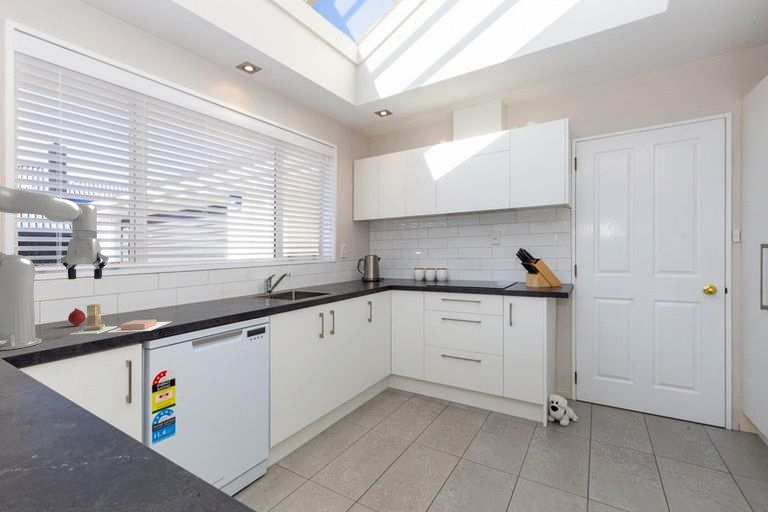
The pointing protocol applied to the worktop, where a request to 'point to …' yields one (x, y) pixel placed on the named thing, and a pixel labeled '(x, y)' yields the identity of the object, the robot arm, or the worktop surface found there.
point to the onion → (76, 317)
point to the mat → (142, 329)
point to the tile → (138, 324)
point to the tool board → (93, 331)
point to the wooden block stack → (94, 318)
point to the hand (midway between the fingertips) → (85, 279)
